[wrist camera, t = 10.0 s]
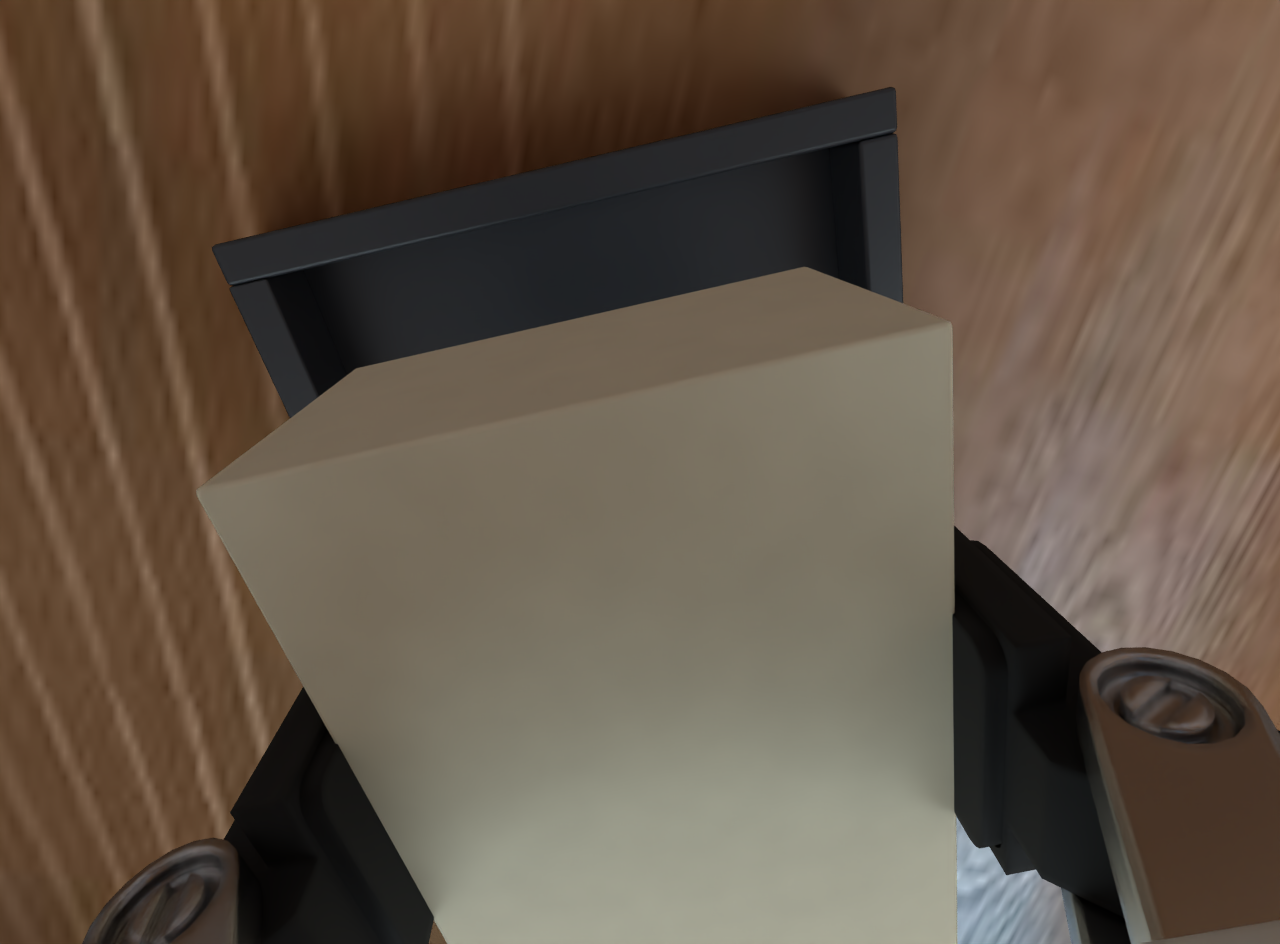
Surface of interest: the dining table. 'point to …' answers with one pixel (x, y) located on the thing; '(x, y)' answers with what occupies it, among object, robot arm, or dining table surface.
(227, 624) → the dining table surface
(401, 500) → the cream pad
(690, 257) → the tray
